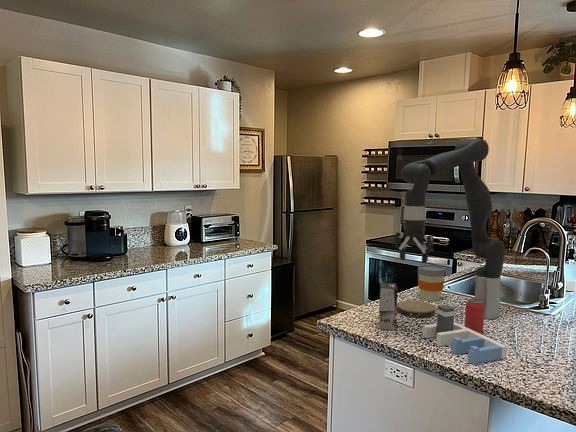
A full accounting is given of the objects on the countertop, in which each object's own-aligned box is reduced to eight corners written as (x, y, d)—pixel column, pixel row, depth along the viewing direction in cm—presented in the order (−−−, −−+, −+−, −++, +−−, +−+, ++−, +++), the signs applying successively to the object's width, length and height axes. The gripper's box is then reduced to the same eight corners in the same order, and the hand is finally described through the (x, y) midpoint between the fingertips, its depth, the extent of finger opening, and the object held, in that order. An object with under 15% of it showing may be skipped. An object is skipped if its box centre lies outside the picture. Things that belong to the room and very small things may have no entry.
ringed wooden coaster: (400, 304, 195) (400, 298, 195) (436, 310, 188) (437, 303, 188) (393, 315, 181) (393, 308, 180) (432, 321, 174) (433, 314, 174)
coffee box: (396, 330, 163) (397, 289, 161) (379, 329, 164) (380, 288, 162) (395, 322, 172) (396, 283, 170) (378, 320, 173) (380, 282, 171)
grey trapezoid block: (445, 336, 157) (446, 304, 156) (453, 340, 154) (454, 308, 152) (436, 337, 156) (437, 305, 155) (443, 341, 152) (445, 309, 151)
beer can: (482, 329, 165) (484, 299, 164) (484, 335, 159) (485, 304, 157) (463, 327, 167) (465, 297, 166) (464, 333, 161) (466, 302, 159)
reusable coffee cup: (440, 304, 196) (441, 272, 194) (413, 299, 202) (414, 268, 201) (446, 297, 206) (448, 267, 204) (420, 293, 213) (421, 263, 211)
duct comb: (452, 331, 162) (453, 318, 162) (506, 358, 139) (507, 343, 139) (422, 336, 157) (423, 323, 157) (472, 364, 134) (473, 349, 134)
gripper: (437, 218, 155) (436, 262, 156) (402, 215, 164) (401, 257, 166) (428, 220, 149) (426, 266, 151) (392, 217, 159) (391, 260, 161)
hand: (413, 261), depth 159 cm, fingers open, 8 cm apart
